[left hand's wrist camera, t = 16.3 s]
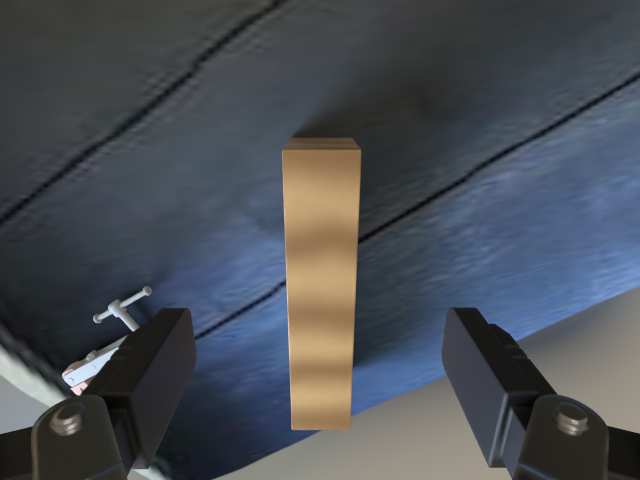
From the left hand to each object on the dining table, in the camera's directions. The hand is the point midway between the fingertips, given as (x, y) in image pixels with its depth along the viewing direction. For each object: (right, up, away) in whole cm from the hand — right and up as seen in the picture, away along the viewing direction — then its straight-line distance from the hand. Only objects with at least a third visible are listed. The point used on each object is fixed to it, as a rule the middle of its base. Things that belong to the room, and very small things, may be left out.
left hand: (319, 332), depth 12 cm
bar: (0, 0, +27) cm, 27 cm away
